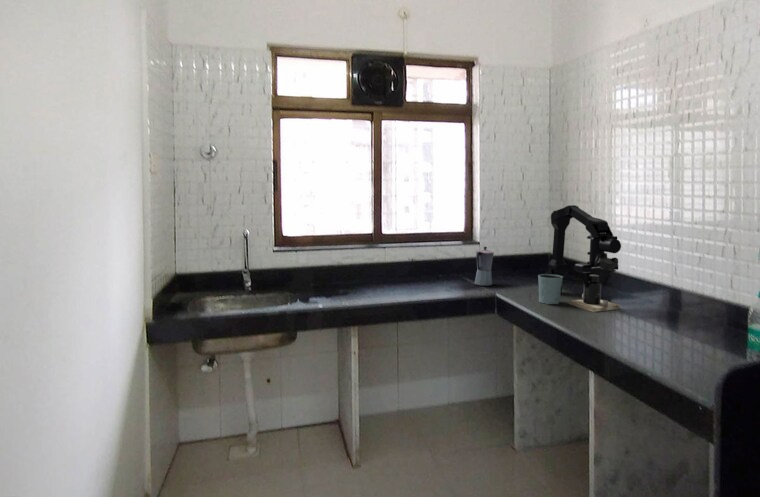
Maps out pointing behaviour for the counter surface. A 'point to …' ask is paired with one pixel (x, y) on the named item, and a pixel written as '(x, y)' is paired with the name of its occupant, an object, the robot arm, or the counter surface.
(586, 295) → the supplement bottle
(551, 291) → the teal tapered cup
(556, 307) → the counter surface
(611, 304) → the locating pad
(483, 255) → the moka pot
